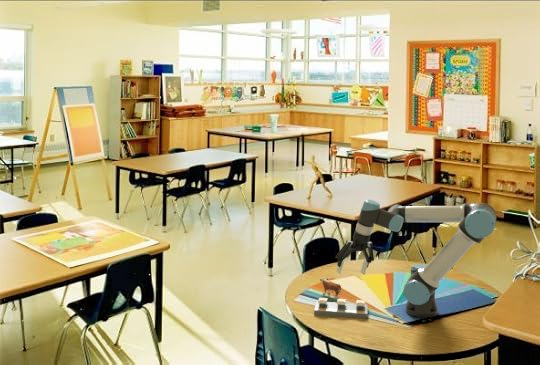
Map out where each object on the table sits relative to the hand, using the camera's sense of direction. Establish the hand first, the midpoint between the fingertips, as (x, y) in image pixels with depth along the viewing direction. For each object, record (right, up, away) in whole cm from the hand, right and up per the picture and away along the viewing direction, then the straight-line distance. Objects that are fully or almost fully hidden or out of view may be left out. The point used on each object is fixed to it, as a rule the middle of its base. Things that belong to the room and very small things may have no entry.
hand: (350, 272), depth 280 cm
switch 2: (+5, -15, +3) cm, 16 cm away
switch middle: (-4, -15, +4) cm, 16 cm away
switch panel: (-4, -19, +4) cm, 20 cm away
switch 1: (-13, -14, +6) cm, 20 cm away
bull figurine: (-7, -15, +25) cm, 30 cm away
